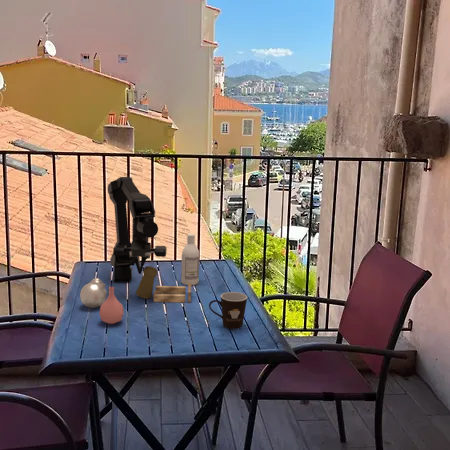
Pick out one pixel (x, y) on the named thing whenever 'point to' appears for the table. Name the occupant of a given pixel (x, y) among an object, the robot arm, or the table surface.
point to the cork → (147, 282)
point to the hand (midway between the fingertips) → (140, 273)
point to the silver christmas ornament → (93, 293)
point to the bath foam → (190, 262)
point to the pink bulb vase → (111, 309)
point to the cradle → (171, 294)
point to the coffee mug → (232, 309)
